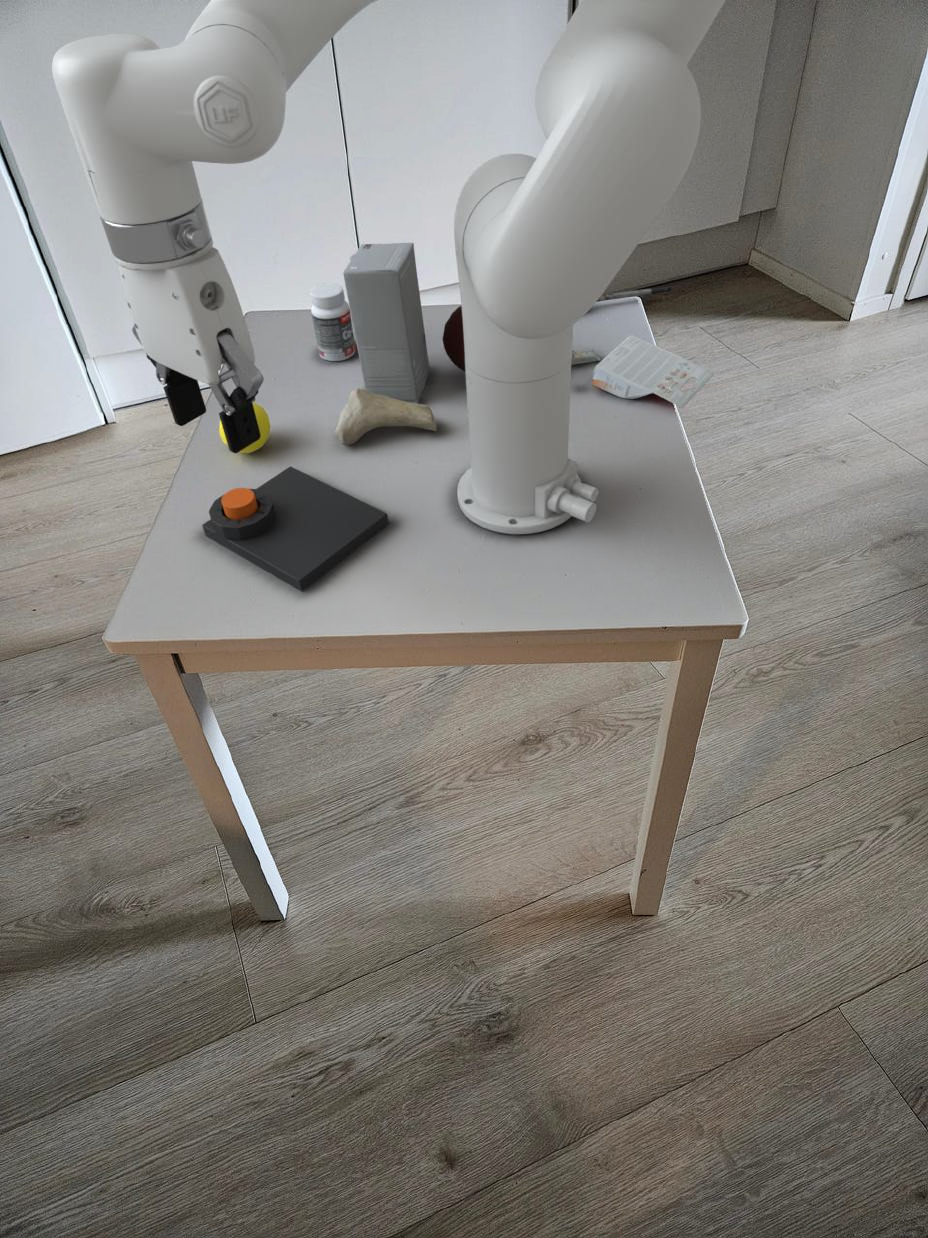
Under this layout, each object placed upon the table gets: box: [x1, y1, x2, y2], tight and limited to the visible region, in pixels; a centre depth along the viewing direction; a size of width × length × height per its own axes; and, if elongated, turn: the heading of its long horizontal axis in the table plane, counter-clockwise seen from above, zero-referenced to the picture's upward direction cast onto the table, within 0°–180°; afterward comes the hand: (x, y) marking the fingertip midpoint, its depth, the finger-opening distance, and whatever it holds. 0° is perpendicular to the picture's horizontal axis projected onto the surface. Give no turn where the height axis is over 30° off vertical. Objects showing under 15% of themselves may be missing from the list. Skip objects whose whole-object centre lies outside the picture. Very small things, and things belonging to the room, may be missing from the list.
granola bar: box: [571, 348, 602, 366], centre depth 106 cm, size 7×1×3 cm
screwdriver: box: [596, 286, 673, 303], centre depth 116 cm, size 25×3×3 cm
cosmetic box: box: [342, 242, 430, 404], centre depth 100 cm, size 8×7×16 cm
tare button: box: [221, 487, 258, 520], centre depth 85 cm, size 3×3×2 cm
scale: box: [201, 466, 390, 592], centre depth 86 cm, size 14×12×3 cm
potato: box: [442, 305, 466, 373], centre depth 102 cm, size 9×12×9 cm
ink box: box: [590, 334, 715, 409], centre depth 102 cm, size 3×9×12 cm
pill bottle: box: [309, 282, 357, 362], centre depth 109 cm, size 5×5×8 cm
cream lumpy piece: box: [334, 388, 438, 446], centre depth 97 cm, size 11×6×5 cm, turn 101°
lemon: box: [218, 401, 271, 454], centre depth 95 cm, size 7×5×5 cm
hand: (217, 430), depth 79 cm, fingers open, 6 cm apart
